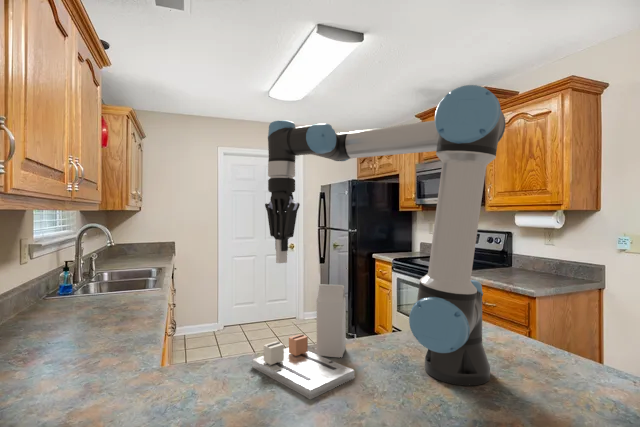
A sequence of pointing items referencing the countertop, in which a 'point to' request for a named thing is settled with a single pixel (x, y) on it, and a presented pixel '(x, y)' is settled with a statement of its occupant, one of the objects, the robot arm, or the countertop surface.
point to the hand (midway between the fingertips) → (281, 262)
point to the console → (305, 373)
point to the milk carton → (331, 320)
